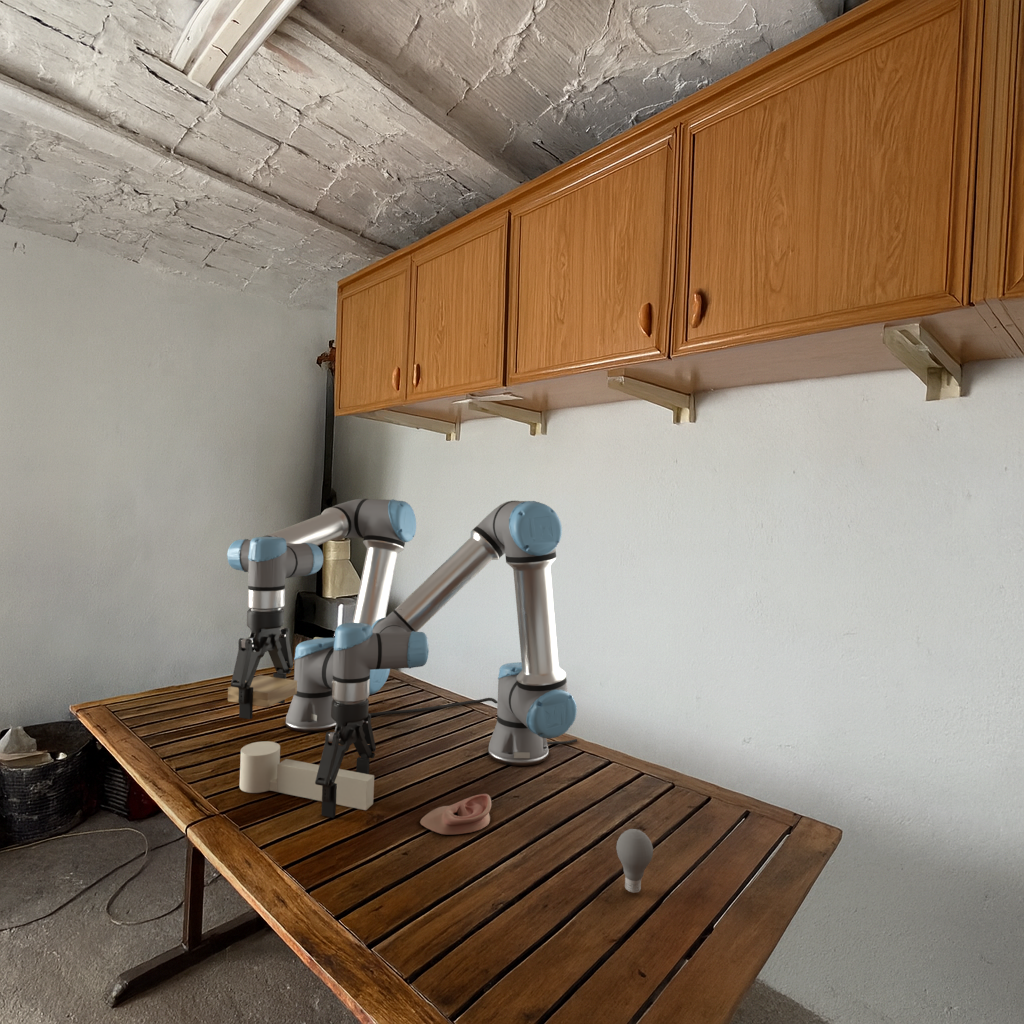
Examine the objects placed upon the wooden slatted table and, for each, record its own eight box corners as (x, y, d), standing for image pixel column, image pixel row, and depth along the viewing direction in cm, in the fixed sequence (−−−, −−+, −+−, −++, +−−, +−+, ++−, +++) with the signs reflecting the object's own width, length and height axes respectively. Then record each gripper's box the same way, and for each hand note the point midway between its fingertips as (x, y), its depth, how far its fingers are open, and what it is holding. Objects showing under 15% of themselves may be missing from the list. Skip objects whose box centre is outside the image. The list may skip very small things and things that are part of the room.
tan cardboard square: (227, 701, 135) (228, 687, 134) (259, 688, 144) (259, 675, 144) (267, 707, 132) (267, 693, 132) (296, 693, 141) (297, 680, 141)
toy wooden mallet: (231, 789, 135) (232, 752, 135) (256, 774, 143) (257, 739, 143) (359, 816, 126) (361, 776, 126) (379, 798, 134) (380, 761, 134)
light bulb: (610, 879, 108) (613, 822, 108) (644, 879, 109) (647, 822, 109) (619, 902, 102) (622, 840, 102) (655, 901, 103) (658, 840, 103)
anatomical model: (415, 809, 122) (434, 784, 133) (414, 830, 122) (433, 802, 133) (482, 819, 119) (496, 792, 130) (481, 840, 119) (495, 811, 130)
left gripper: (284, 599, 149) (281, 692, 150) (213, 615, 128) (209, 724, 128) (311, 602, 147) (308, 697, 148) (244, 619, 125) (240, 730, 126)
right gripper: (364, 681, 144) (360, 774, 145) (298, 714, 121) (294, 825, 121) (394, 685, 142) (389, 780, 142) (333, 720, 119) (328, 833, 119)
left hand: (262, 709), depth 138 cm, fingers closed on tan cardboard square, 10 cm apart
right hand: (345, 801), depth 132 cm, fingers open, 12 cm apart
